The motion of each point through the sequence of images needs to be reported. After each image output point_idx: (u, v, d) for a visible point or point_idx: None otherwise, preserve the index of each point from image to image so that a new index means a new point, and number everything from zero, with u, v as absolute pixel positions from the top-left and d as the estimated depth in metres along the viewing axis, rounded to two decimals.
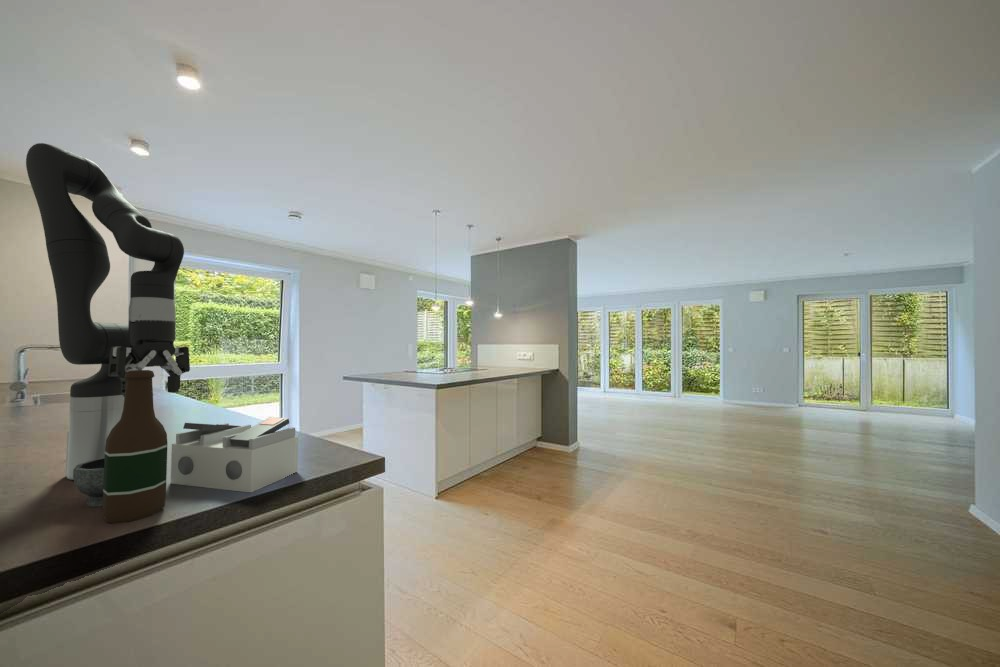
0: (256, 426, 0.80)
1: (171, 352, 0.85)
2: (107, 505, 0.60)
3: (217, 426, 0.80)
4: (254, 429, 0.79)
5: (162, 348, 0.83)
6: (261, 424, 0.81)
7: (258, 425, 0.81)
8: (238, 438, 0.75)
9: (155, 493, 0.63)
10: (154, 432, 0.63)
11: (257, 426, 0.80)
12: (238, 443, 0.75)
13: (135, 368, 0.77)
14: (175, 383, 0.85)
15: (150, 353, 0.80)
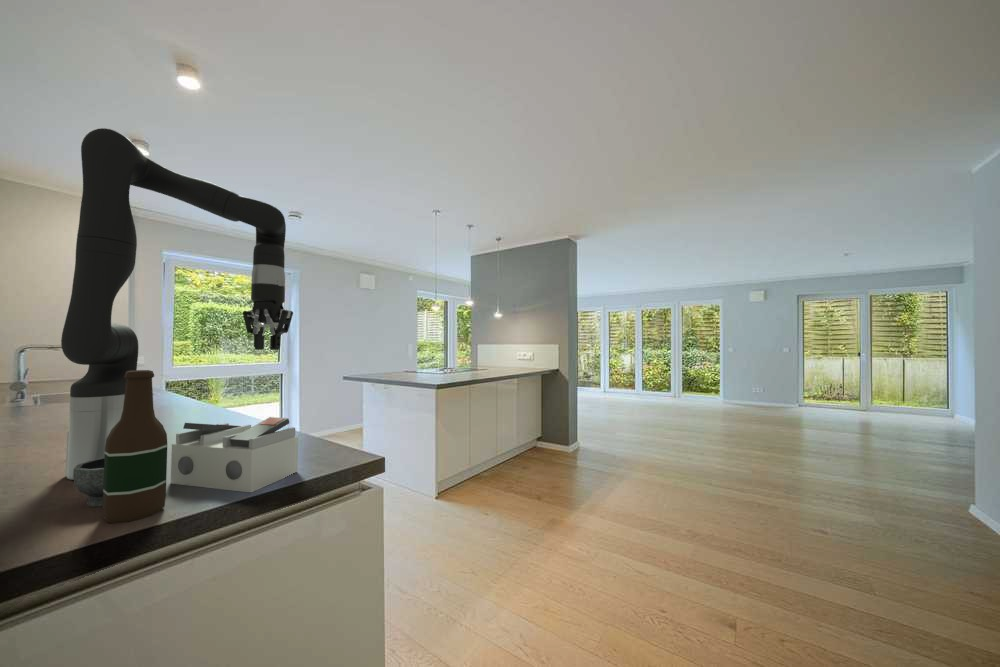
0: (256, 426, 0.80)
1: None
2: (107, 505, 0.60)
3: (217, 426, 0.80)
4: (254, 429, 0.79)
5: None
6: (261, 424, 0.81)
7: (258, 425, 0.81)
8: (238, 438, 0.75)
9: (155, 492, 0.63)
10: (154, 432, 0.63)
11: (257, 426, 0.80)
12: (238, 443, 0.75)
13: None
14: (263, 342, 1.00)
15: None
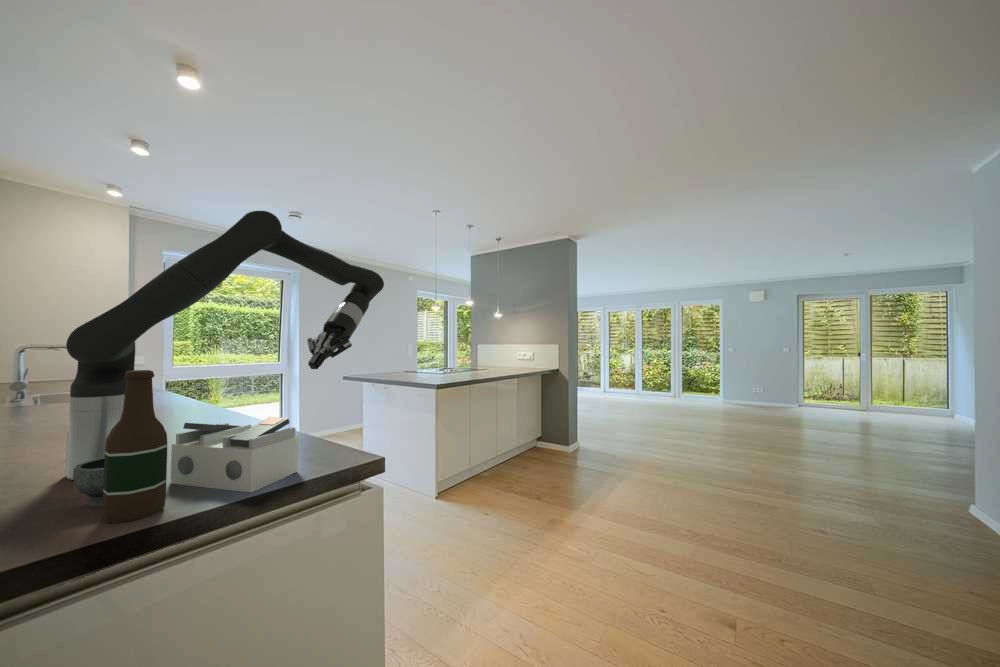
0: (256, 426, 0.80)
1: None
2: (107, 505, 0.60)
3: (217, 426, 0.80)
4: (254, 429, 0.79)
5: None
6: (261, 424, 0.81)
7: (258, 425, 0.81)
8: (238, 438, 0.75)
9: (155, 492, 0.63)
10: (154, 432, 0.63)
11: (257, 426, 0.80)
12: (238, 443, 0.75)
13: None
14: None
15: None
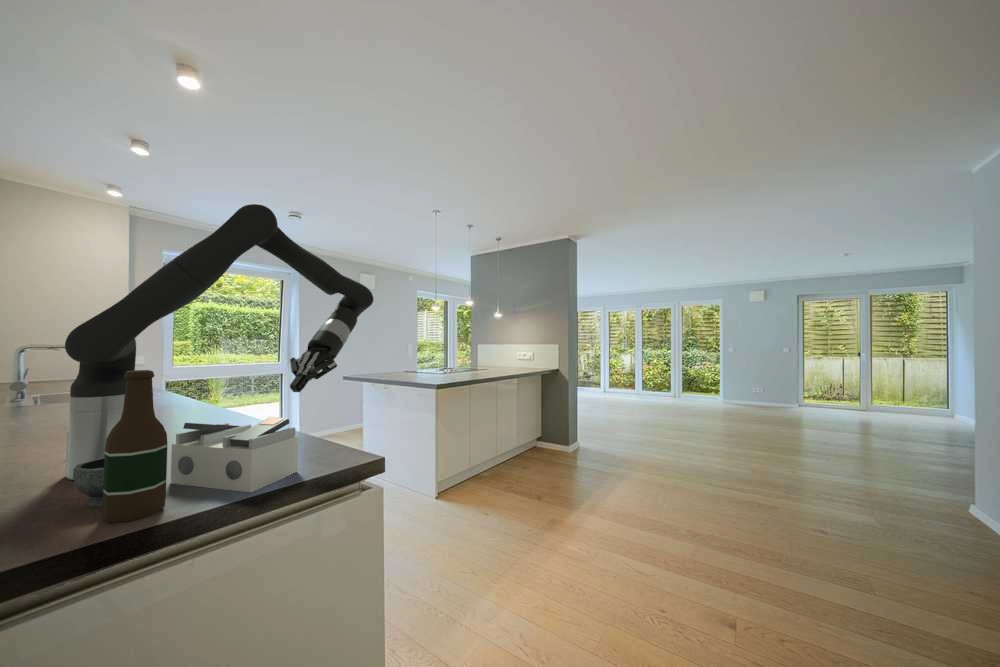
0: (256, 426, 0.80)
1: None
2: (107, 505, 0.60)
3: (217, 426, 0.80)
4: (254, 429, 0.79)
5: None
6: (261, 424, 0.81)
7: (258, 425, 0.81)
8: (238, 438, 0.75)
9: (155, 493, 0.63)
10: (154, 432, 0.63)
11: (257, 426, 0.80)
12: (238, 443, 0.75)
13: None
14: None
15: None
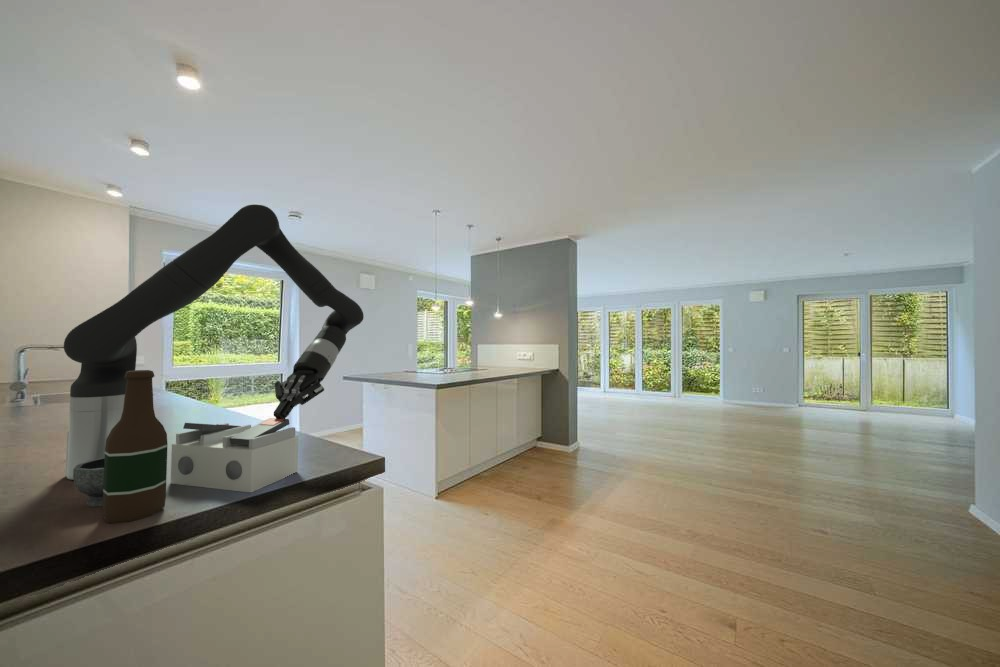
0: (256, 426, 0.80)
1: None
2: (107, 505, 0.60)
3: (217, 426, 0.80)
4: (254, 429, 0.79)
5: None
6: (261, 424, 0.81)
7: (258, 425, 0.81)
8: (238, 437, 0.75)
9: (155, 493, 0.63)
10: (154, 432, 0.63)
11: (257, 426, 0.80)
12: (238, 442, 0.75)
13: None
14: None
15: None
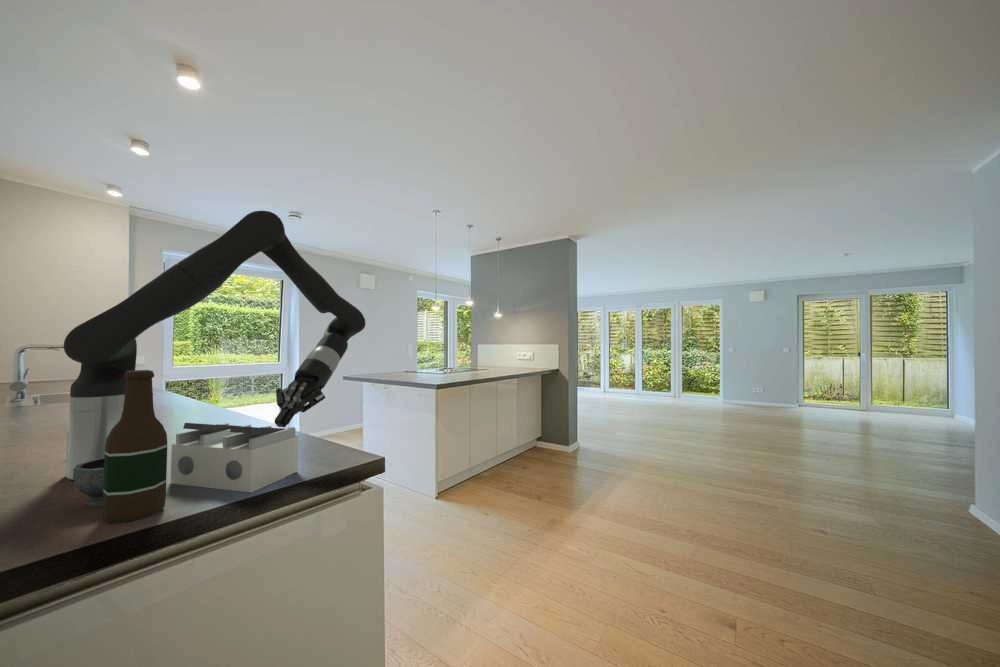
0: None
1: None
2: (107, 505, 0.60)
3: (217, 426, 0.80)
4: None
5: None
6: (262, 427, 0.81)
7: None
8: (240, 426, 0.76)
9: (155, 493, 0.63)
10: (154, 432, 0.63)
11: None
12: (238, 430, 0.75)
13: None
14: None
15: None
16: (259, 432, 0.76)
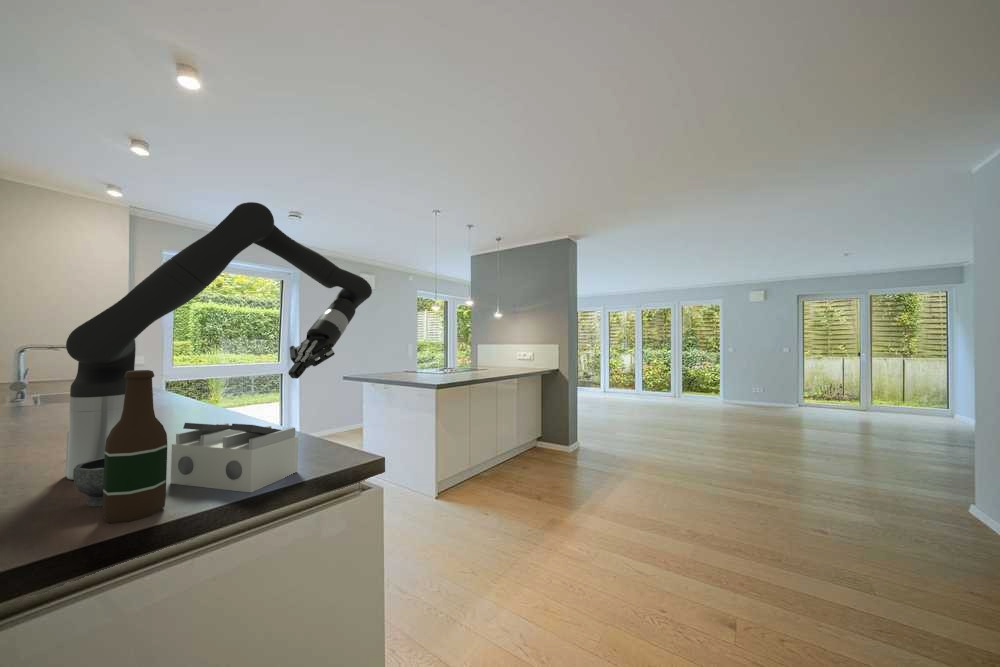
0: None
1: None
2: (107, 505, 0.60)
3: (217, 426, 0.80)
4: None
5: None
6: None
7: None
8: (240, 424, 0.76)
9: (155, 493, 0.63)
10: (154, 432, 0.63)
11: None
12: (238, 428, 0.75)
13: None
14: None
15: None
16: (259, 431, 0.76)
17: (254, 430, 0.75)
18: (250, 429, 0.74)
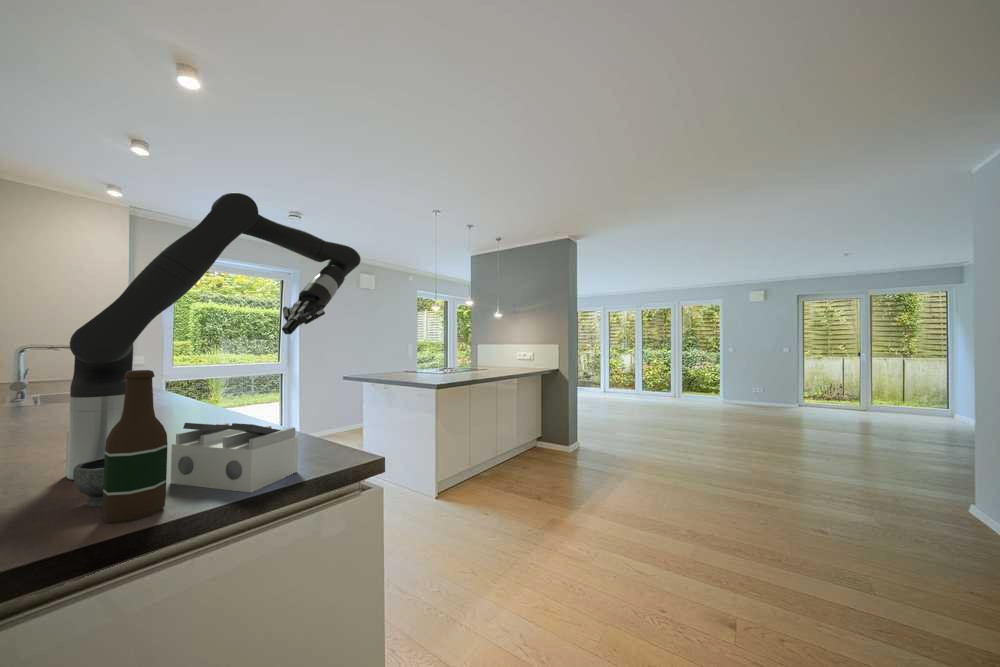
0: None
1: None
2: (107, 505, 0.60)
3: (217, 426, 0.80)
4: None
5: None
6: None
7: None
8: (241, 424, 0.76)
9: (155, 493, 0.63)
10: (154, 432, 0.63)
11: None
12: (238, 427, 0.75)
13: None
14: None
15: None
16: (259, 430, 0.76)
17: (254, 430, 0.75)
18: (250, 429, 0.75)
